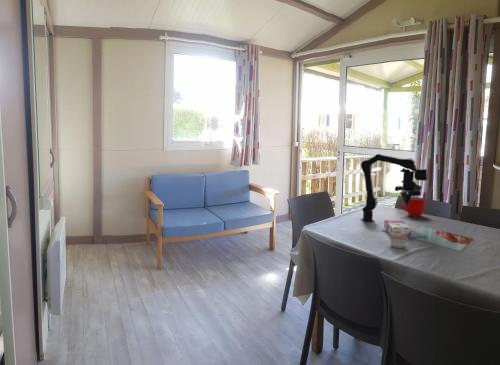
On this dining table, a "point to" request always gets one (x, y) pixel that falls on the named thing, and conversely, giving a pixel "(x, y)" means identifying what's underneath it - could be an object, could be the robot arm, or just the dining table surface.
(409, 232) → the candy bar box
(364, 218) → the robot arm
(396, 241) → the cupcake
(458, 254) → the dining table surface
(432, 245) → the dining table surface
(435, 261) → the dining table surface
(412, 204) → the ceramic cup
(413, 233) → the mat
